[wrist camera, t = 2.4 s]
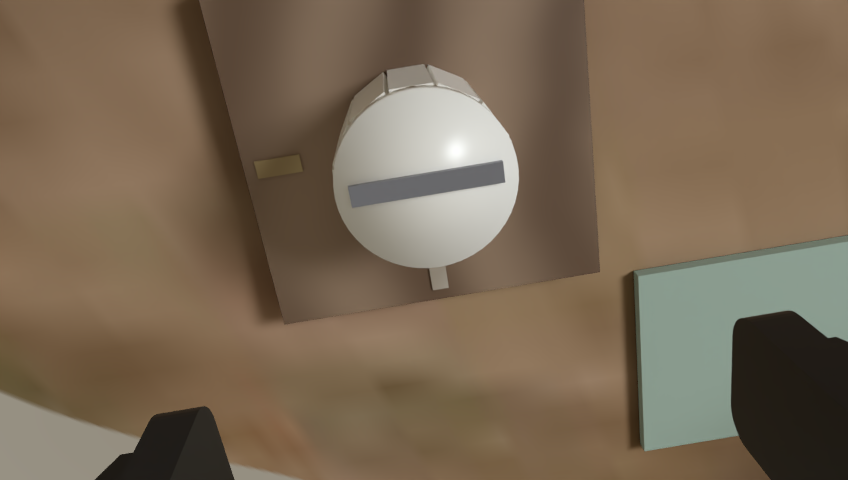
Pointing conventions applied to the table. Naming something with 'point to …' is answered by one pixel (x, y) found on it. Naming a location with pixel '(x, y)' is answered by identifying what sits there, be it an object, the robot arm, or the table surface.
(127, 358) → the table surface
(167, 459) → the robot arm
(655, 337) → the sage mat
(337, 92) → the post base
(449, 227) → the cap
